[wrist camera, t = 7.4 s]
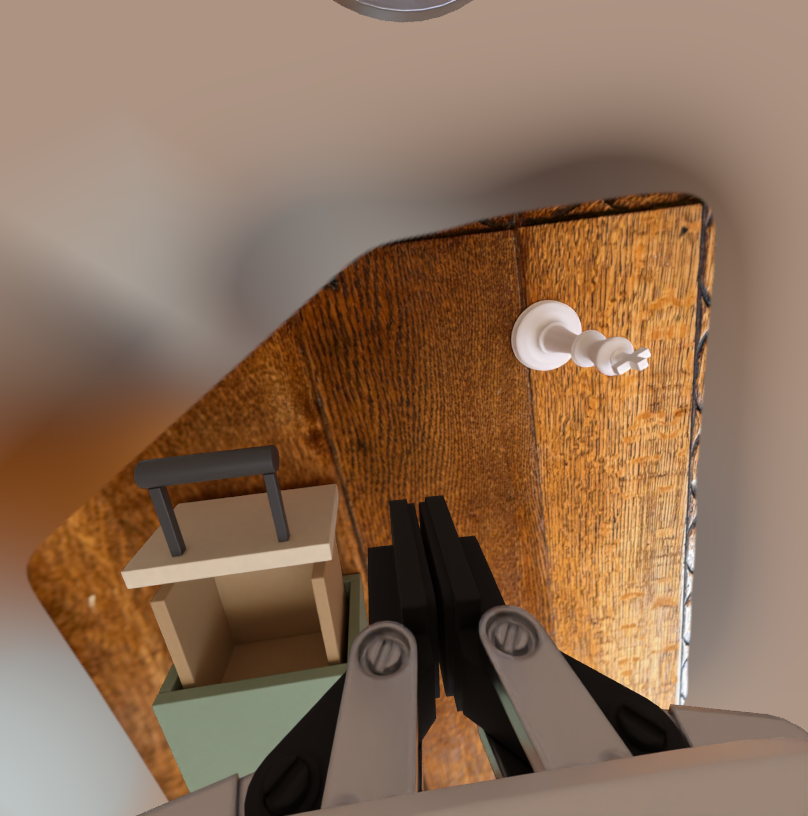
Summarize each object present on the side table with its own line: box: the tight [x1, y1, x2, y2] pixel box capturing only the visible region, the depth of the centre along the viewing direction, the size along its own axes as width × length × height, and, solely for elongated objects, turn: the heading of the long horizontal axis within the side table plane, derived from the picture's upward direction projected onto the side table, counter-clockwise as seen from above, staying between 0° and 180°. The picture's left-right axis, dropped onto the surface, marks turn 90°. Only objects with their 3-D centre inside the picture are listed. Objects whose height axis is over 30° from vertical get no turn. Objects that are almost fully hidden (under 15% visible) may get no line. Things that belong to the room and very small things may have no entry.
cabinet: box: [152, 573, 368, 793], centre depth 30 cm, size 15×13×9 cm
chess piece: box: [511, 300, 651, 376], centre depth 22 cm, size 5×5×10 cm
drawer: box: [121, 445, 349, 689], centre depth 25 cm, size 19×11×7 cm, turn 5°
